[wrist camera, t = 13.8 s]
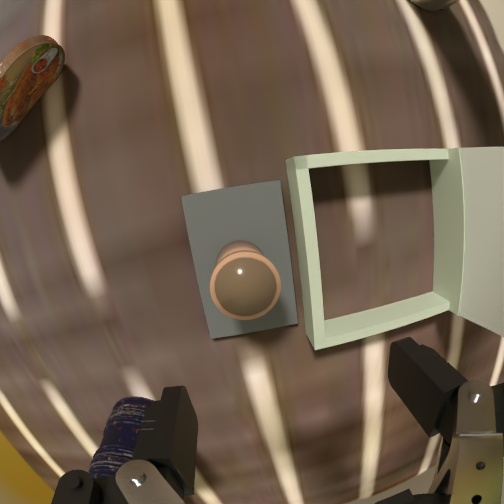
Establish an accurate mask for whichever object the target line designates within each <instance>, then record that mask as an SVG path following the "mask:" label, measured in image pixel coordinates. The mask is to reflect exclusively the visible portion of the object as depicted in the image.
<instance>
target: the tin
mask: <svg viewBox="0 0 504 504" xmlns="http://www.w3.org/2000/svg"><path fill="white" fill-rule="evenodd" d="M64 62H65V53H64V50H63V48H62V47H61V46H60V45H58V43H57V42H56V41H55V40H54V39H53V38H51V37H49V36H45V35H38V36H33V37H30V38H28V39H26V40H24V41H22V42H20V43H19V44H18V45H16V46H15V47H14V48H13V49H12V50H11V51H10V52H9V53H8V54H7V56H6V57H5V58H4V59H3V60H2V62H1V63H0V141H2V140H3V139H5V138H6V137H7V136H8V135H10V134H11V133H12V132H13V131H14V130H15V129H16V128H17V126H18V125H19V124H20V122H21V121H22V120H23V118H24V117H25V116H26V114H27V113H28V112H29V110H30V109H31V108H32V107H33V105H34V104H35V103H36V102H37V101H38V99H39V98H40V97H41V96H42V95H43V94H44V92H45V91H46V90H47V89H48V88H49V87H50V86H51V85H52V84H53V82H54V81H55V80H56V79H57V77H58V76H59V74H60V72H61V70H62V68H63V66H64Z"/></svg>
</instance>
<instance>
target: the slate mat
mask: <svg viewBox="0 0 504 504" xmlns="http://www.w3.org/2000/svg"><path fill="white" fill-rule="evenodd" d="M181 198H182V204H183V209H184V215H185V220H186V226H187V231H188V236H189V241H190V246H191V251H192V256H193V261H194V266H195V271H196V276H197V280H198V285H199V290H200V294H201V299H202V303H203V307H204V312H205V316H206V320H207V324H208V329H209V333H210V337H211V339H213V338H220V337H227V336H233V335H239V334H245V333H251V332H256V331H262V330H267V329H273V328H278V327H283V326H288V325H293V324H298V320H297V311H296V301H295V292H294V284H293V275H292V266H291V258H290V250H289V242H288V234H287V227H286V219H285V212H284V205H283V198H282V191H281V184H280V180H276V181H268V182H262V183H255V184H248V185H242V186H235V187H229V188H223V189H217V190H212V191H206V192H200V193H195V194H190V195H184V196H181ZM238 240H244V241H249V242H251V243H253V244H255V245H256V246H258V247H259V248H260V250H261V251H262V252H263V254H264V256H265V257H267V258H268V259H269V260H270V261H271V262H272V263H273V265H274V266H275V268H276V270H277V272H278V274H279V277H280V281H281V291H280V295H279V298H278V300H277V302H276V303H275V305H274V306H273V307H272V308H271V310H269V311H268V312H267V313H266V314H264V315H262V316H260V317H258V318H255V319H250V320H239V319H234V318H231V317H229V316H227V315H225V314H224V313H222V312H221V311H220V310H219V309H218V308H217V307H216V305H215V304H214V302H213V300H212V297H211V294H210V281H211V275H212V272H213V270H214V268H215V264H216V258H217V256H218V253H219V252H220V250H221V249H222V248H223V247H224V246H225V245H227V244H229V243H231V242H233V241H238Z"/></svg>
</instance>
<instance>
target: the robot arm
mask: <svg viewBox="0 0 504 504" xmlns="http://www.w3.org/2000/svg"><path fill="white" fill-rule="evenodd" d="M410 1H411V2H413V3H414V4H416V5H417V6H419V7H421V8H423V9H425V10H428V11H438V10H439V9H444V10H445V9H446V8H448V7H450V6H451V5H453V4H454V3H456V2H458V1H459V0H410ZM388 379H389V382H390V385H391V386H392V388H393V389H394V390H395V392H396V393H397V394H398V396H399V397H400V398H401V400H402V401H403V402H404V404H405V405H406V406H407V408H408V409H409V410H410V412H411V413H412V414H413V416H414V417H415V419H416V420H417V421H418V423H419V424H420V425H421V427H422V428H423V429H424V431H425V432H426V434H427V435H428V436H429V438H430V437H432V436H434V435H436V434H438V433H440V434H441V435H442V438H441V441H440V447H439V453H438V459H437V464H436V469H435V474H434V478H433V481H432V484H431V487H430V489H429V492H428V493H427V494H417V495H412V493H411V491H410V490H409V489H407V490H405V491H403V492H401V493H398V494H396V495H394V496H391V497H389V498H386V499H384V500H381V501H378V502H377V503H375V504H500V503H501V494H502V482H503V457H504V383H502V384H498V385H495V386H490V385H489V384H487V383H486V382H483V381H480V380H471V381H468V380H466V379H465V378H464V377H463V376H462V375H461V374H460V373H459V372H458V371H457V370H456V369H455V368H454V367H452V366H451V365H450V364H449V363H447V362H446V360H445V359H444V358H443V357H441V356H440V355H439V354H438V353H437V352H436V351H435V350H434V349H432V348H430V347H427V346H425V345H420V346H419V345H418V344H417V343H416V342H415V341H414V340H413V339H412V338H411V337H406V338H403V339H400V340H398V341H395V342H392V343H391V346H390V356H389V367H388ZM197 435H198V421H197V416H196V413H195V411H194V408H193V405H192V403H191V400H190V398H189V395H188V392H187V390H186V388H185V386H175V387H165V388H164V389H163V393H162V397H161V401H153V402H152V403H151V405H150V406H149V407H148V408H147V409H146V411H145V414H144V418H143V422H142V425H141V430H140V432H139V435H138V439H137V442H136V446H135V450H134V453H133V457H132V460H131V461H129V462H127V463H125V464H123V465H122V466H121V467H120V468H119V469H118V471H117V473H116V474H115V475H111V476H106V477H100V478H92V477H91V476H90V474H88V473H87V472H85V471H83V470H72V471H69V472H67V473H65V474H64V475H63V476H62V477H61V478H60V480H59V482H58V485H57V488H56V491H55V494H54V497H53V500H52V503H51V504H186V503H185V502H184V501H183V498H184V495H194V479H195V463H196V448H197Z"/></svg>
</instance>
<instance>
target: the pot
mask: <svg viewBox="0 0 504 504" xmlns="http://www.w3.org/2000/svg"><path fill="white" fill-rule="evenodd" d="M280 291H281V281H280V277H279V274H278V272H277V270H276V268H275V266H274V265H273V263H272V262H271V261H270V260H269V259H268V258H267V257H265V256H264V254H263V252H262V251H261V250H260V248H259V247H258V246H256V245H255V244H253V243H251V242H249V241H244V240H238V241H233V242H231V243H229V244H227V245H225V246H224V247H223V248H222V249H221V250H220V252H219V253H218V256H217V258H216V264H215V268H214V270H213V272H212V275H211V281H210V294H211V297H212V300H213V302H214V304H215V305H216V307H217V308H218V309H219V310H220V311H221V312H222V313H224V314H225V315H227V316H229V317H231V318H234V319H239V320H250V319H255V318H258V317H260V316H262V315H264V314H266V313H267V312H268V311H269V310H271V308H272V307H273V306H274V305H275V303H276V302H277V300H278V298H279V295H280Z"/></svg>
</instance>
